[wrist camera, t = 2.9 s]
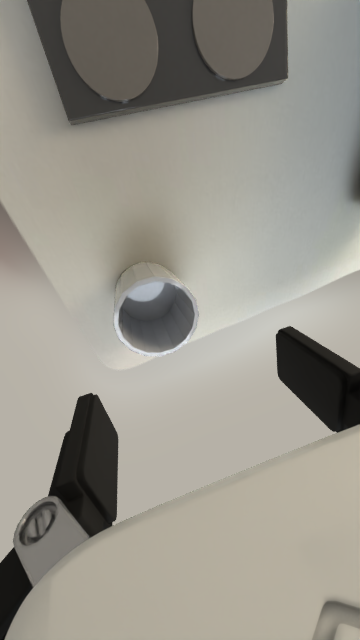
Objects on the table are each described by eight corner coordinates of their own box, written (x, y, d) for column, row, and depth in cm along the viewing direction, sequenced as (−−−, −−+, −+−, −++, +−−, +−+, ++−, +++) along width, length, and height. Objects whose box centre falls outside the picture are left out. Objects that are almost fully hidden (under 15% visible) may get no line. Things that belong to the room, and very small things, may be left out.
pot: (127, 329, 27) (130, 366, 20) (105, 272, 24) (99, 292, 17) (183, 311, 28) (205, 341, 21) (169, 254, 25) (189, 266, 18)
